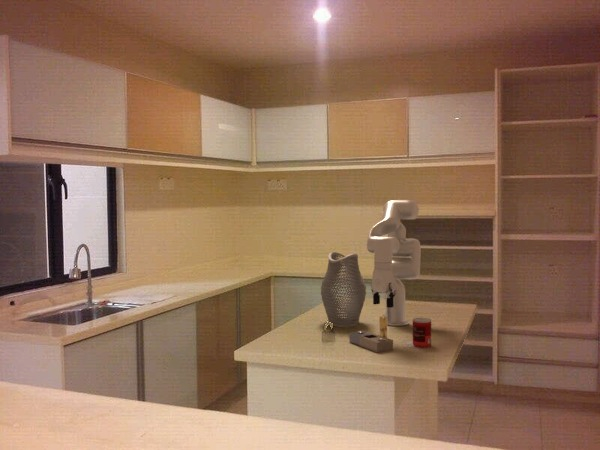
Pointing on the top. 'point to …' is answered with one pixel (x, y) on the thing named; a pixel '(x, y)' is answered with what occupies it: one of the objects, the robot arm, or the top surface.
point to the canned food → (422, 332)
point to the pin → (383, 326)
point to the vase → (357, 285)
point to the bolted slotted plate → (371, 341)
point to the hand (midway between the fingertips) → (383, 305)
